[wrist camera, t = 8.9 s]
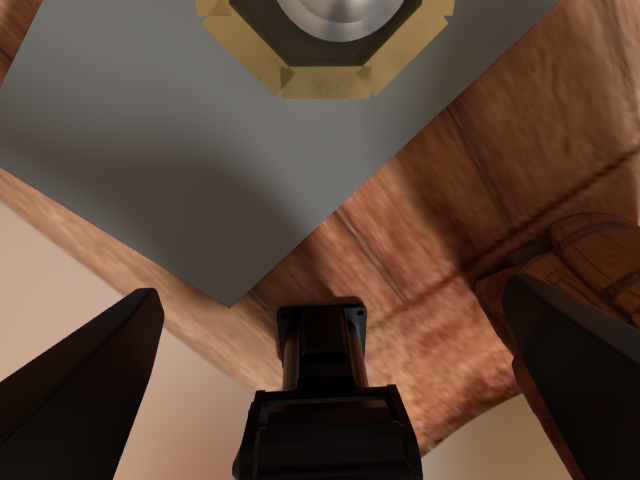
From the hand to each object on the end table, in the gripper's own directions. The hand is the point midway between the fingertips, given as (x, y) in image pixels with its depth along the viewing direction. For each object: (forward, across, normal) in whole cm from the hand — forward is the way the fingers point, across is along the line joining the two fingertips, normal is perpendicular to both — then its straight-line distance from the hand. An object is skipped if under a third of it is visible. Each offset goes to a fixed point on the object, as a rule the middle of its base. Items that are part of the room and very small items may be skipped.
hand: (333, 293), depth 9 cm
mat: (+13, +3, -4) cm, 14 cm away
